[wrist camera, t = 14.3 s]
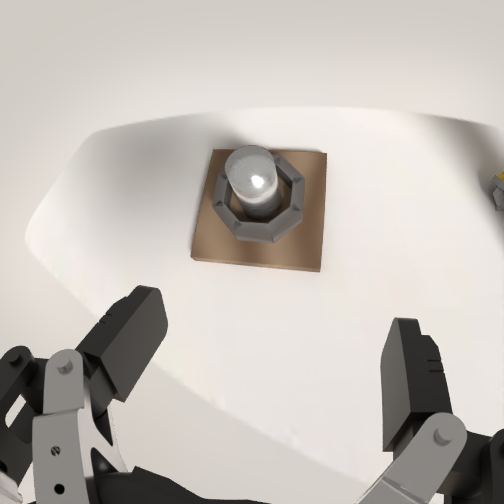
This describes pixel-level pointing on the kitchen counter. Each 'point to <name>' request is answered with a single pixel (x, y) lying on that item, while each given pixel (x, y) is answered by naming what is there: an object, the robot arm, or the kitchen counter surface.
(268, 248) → the socket board
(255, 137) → the kitchen counter surface
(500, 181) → the drill bit
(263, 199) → the steel peg
